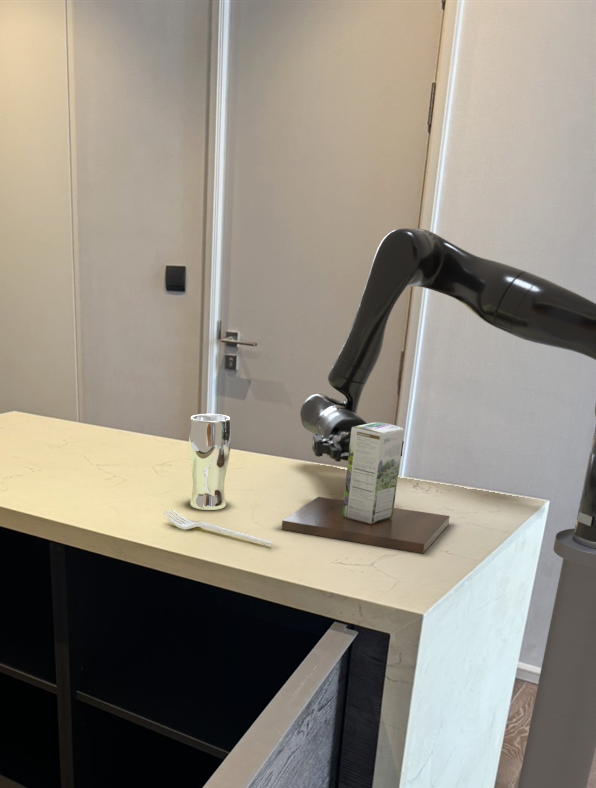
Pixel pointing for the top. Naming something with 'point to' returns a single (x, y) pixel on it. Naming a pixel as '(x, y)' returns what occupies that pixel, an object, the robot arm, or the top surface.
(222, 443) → the beer glass
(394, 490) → the syrup box
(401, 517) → the walnut board
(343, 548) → the top surface
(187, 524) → the fork
